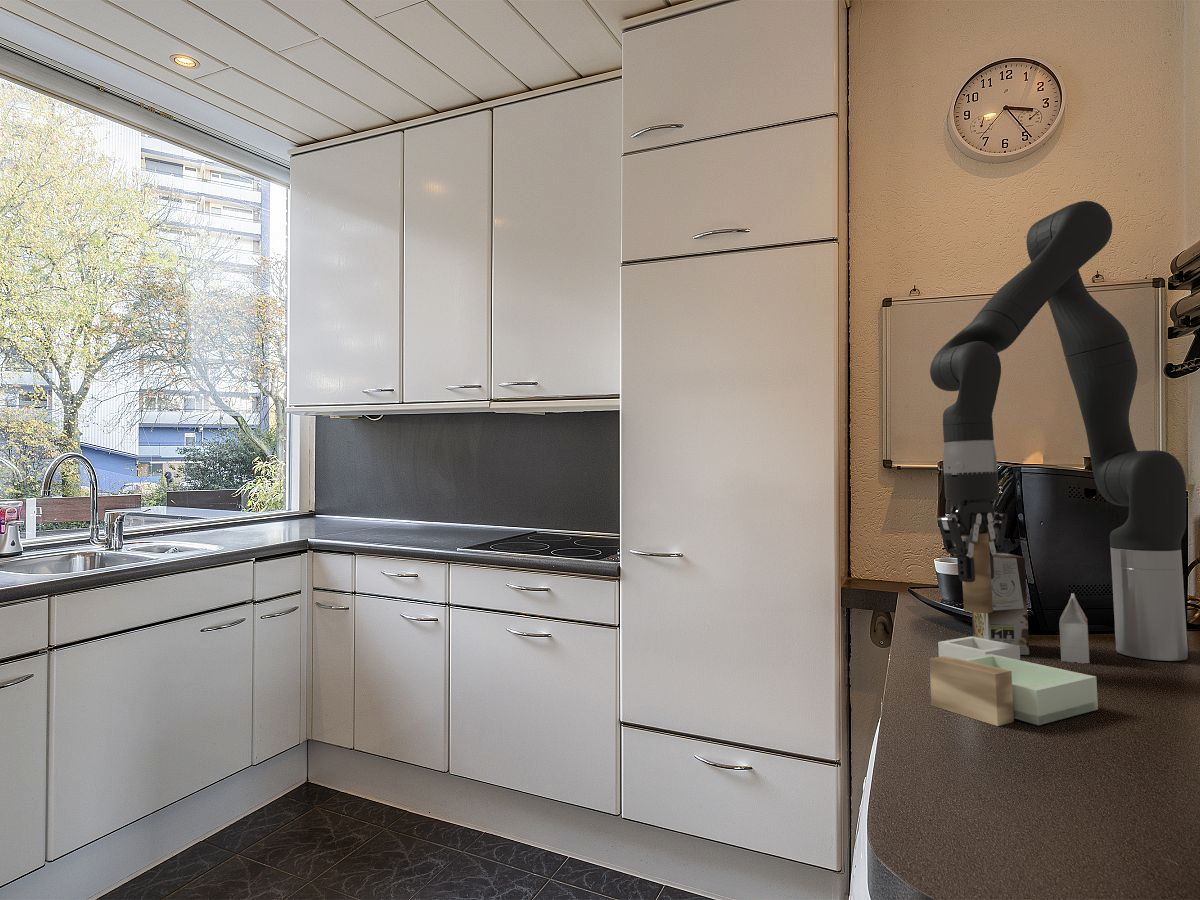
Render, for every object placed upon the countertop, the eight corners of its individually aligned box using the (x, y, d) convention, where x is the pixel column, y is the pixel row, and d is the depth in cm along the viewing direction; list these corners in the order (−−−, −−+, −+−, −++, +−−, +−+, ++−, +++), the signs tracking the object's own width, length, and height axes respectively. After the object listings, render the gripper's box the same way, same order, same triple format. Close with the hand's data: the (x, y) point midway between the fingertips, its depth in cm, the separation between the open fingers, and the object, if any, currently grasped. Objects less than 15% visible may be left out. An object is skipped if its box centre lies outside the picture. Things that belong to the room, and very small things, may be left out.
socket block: (972, 658, 115) (971, 636, 115) (1020, 669, 108) (1019, 645, 108) (939, 664, 111) (938, 641, 112) (986, 676, 104) (985, 652, 104)
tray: (992, 682, 100) (990, 653, 100) (1098, 709, 88) (1096, 676, 88) (934, 694, 95) (932, 664, 95) (1038, 725, 82) (1036, 690, 83)
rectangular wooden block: (947, 702, 92) (945, 655, 93) (1013, 721, 84) (1011, 670, 85) (931, 705, 91) (929, 658, 91) (997, 726, 83) (995, 674, 83)
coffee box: (1031, 655, 116) (1026, 556, 117) (988, 654, 117) (984, 556, 118) (1011, 643, 125) (1006, 551, 126) (971, 642, 126) (967, 551, 127)
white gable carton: (1061, 661, 112) (1057, 597, 113) (1062, 652, 118) (1059, 592, 118) (1089, 664, 110) (1085, 599, 111) (1089, 655, 116) (1085, 593, 116)
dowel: (975, 607, 113) (970, 532, 113) (998, 611, 109) (994, 533, 110) (958, 610, 111) (953, 533, 112) (982, 614, 107) (977, 534, 108)
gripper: (977, 470, 118) (983, 574, 117) (918, 472, 111) (924, 581, 110) (1021, 468, 111) (1028, 578, 110) (961, 470, 105) (968, 587, 104)
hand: (976, 579), depth 110 cm, fingers closed on dowel, 4 cm apart
